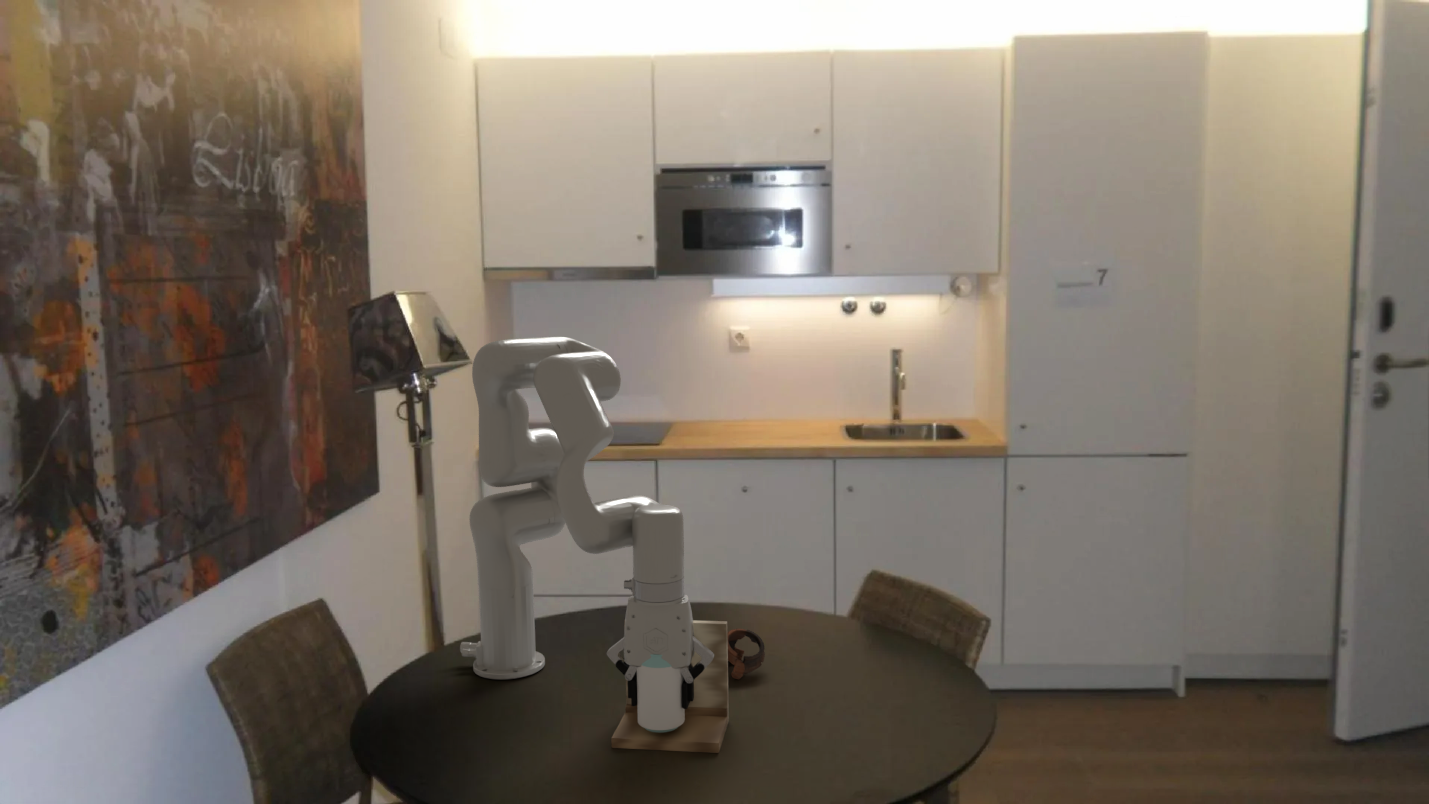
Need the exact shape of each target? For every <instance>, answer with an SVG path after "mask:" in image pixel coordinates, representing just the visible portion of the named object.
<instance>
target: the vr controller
mask: <svg viewBox="0 0 1429 804" xmlns="http://www.w3.org/2000/svg"><path fill="white" fill-rule="evenodd" d="M727 635H728V663H731V664H732V665H733V666H734V667H733V669H732V672H731V673H730V675H731V677H732V678H733V679H735V680H740V679H741V678H743V676H744V675H748V674H750V673H752V672H753V671H755V670H757V669H759V668H760V667H762V663H764V661H765V657H766V652H765V650H766V649H765V644H764V641H763V639H762V637H760V636H759V635H758V634H757V633H755V632H754V631H752V630H750V629H745V628H733V629H730V630H729V631H727ZM745 637H747V638H749V639H750V640H751V641H750V642H753V643H754V644H757V646H758V649H759V650H758V652H757V653H756V654H754V655H749V656H747V655H744V654H745V650H743V649H741V648H739V647H736V644H737V642H738V641H739V640H742V639H744V638H745Z"/></svg>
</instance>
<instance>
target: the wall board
mask: <svg viewBox="0 0 1429 804" xmlns="http://www.w3.org/2000/svg"><path fill="white" fill-rule="evenodd" d="M623 624H624V625H623V629H624V632H625V619H624V620H623ZM693 626H694V637H695V638H696V639H697V640H699V641H700V642H701V643H702V644H703V645H704V646H706V647H707V648H708V649H709V650H710V651H712V652H713V653H714V658H713V660H712V661H711V662H710V664H709V665H708V666H707V667H706V668H705V669H704V670H703V672H702V673H701V674H700V675H699V676H697V677H696V678H695V679H694V700H693V701H690V703H689V706H688V708H687V709H685V721H684V723H683V724H682V725H681V726H679V727H678V728H677V729H675V730H672V731H669V732H661V733H660V732H651V731H648V730H646V729H645V728H643V727H642V726H640V725H639V723H638V711H637V706H632V705H631V698H628V680H626V679H625V697H626V698H625V699H626V702H625V703H626V704H625V706H624V710H625V712H624V714H623V716H622V717H621V719H620V721H619V723H618V725H617V727H616V729H615V730H614V732H613V734H612V736H611V741H610V742H611V748H612V749H629V750H630V749H631V750H632V749H634V750H648V751H649V750H650V751H651V750H652V751H654V750H655V751H667V752H668V751H671V752H688V753H689V752H690V753H691V752H692V753H714V754H719V753H720V751H721V747H722V744H723V741H724V738H725V734H726V731H727V728H728V726H729V725H728V724H729V721H730V717H729V716H730V712H729V710H730V709H729V707H730V706H729V661H728V635H727V633H728V621H725V620H724V621H722V620H719V621H718V620H694V619H693ZM624 632H623V633H624ZM701 659H702V658H701V656H700V655H699V654H697V653H696V652H695V653H694V656H693V657H692V661H691V663H692V665H693V667H694V666H695V665H696V664H697V663H698V662H699V661H700V660H701Z"/></svg>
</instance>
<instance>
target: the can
mask: <svg viewBox="0 0 1429 804" xmlns="http://www.w3.org/2000/svg"><path fill="white" fill-rule="evenodd" d="M650 656H651V658H650V659H648V660H646V661H645V662H644V663H642V665H641V667H637V711H638V723H639V725H640V726H642V727H643V728H645V729H646V730H648V731H651V732H660V733H661V732H669V731H672V730H675V729H677V728H678V727H679V726H681V725H682V724H683V723H684V721H685V709H683V708H682V683H683V681H684V677H683V675H682V673H681V671H680V669H674V668H672V666H671V665H670V664H669V663H668V662H667V661H665V660H664V659H662V655H658V654H651V655H650Z"/></svg>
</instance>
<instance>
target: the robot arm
mask: <svg viewBox="0 0 1429 804" xmlns="http://www.w3.org/2000/svg"><path fill="white" fill-rule="evenodd" d="M471 373H472V375H471V376H472V383H473V389H474V392H475V396H476V401H477V405H478V467H479V473H480V477H481V479H482V481H483V483H484V484H486V485H488V486H490V487H493V488H507V487H514V486H518V485H526V484H530V485H531V486H530V487H528V488H523V489H519V490H518V489H516V490H509V491H504V492H500V493H499V492H498V493H494V494H490V495H487V496H485V497H482V498H481V499H479V500H478V501H477V502H476V503H475V504H474V505H473V506H472V507H471V510H470V512H469V526H470V532H471V537H472V540H473V543H474V544H473V545H474V549H475V555H476V557H475V558H476V566H477V582H478V583H477V584H478V599H479V601H478V602H479V604H478V605H479V621H480V640H479V641H477V642H471V641H469V642H468V641H461V643H460V646H459V651H460V653H461V656H462V657H463V658H464V657H467V658H469V657H472V658H474V659H475V660H474V661H473V665H472V670H473V672H474V673H475V674H476V675H477V676H479V677H482V678H484V679H490V680H513V679H520V678H524V677H528V676H531V675H534V674H536V673H537V672H539V671H540V670H542V669H543V668H544V667H545V665H546V658H545V655H543V653H541V652H539V651H536V629H535V627H536V625H535V606H534V605H535V602H534V598H535V597H534V595H535V594H534V573H533V568H532V564H531V562H530V561H529V559H528V558H527V557H526V556H525V554H524V553H523V551H522V549H521V547H520V546H522V545H525V544H528V543H532V542H537V541H541V540H545V539H550V538H553V537H555V536H557V535H559V534H560V533H561V532H562V531H563V529H564V528H565V525H566V527H567V529H568V532H569V533H570V534H569V535H570V537H572V539H573V541H574V543H575V544H576V545H577V546H578V547H579V549H581V550H582V551H583V552H585V553H587V554H593V555H599V554H603V553H608V552H612V551H616V550H621V549H624V548H630V547H632V578H630V579H627V580H626V579H625V580H624V581H623V589H624V590H629V591H631V593H632V595H631V596H630V597H629V598H628V599H627V604H626V612H625V619H624V620H625V632H623V633H624V634H623V637H622V638H621V639H619V640H618V641H617V642H616V643H614V644H613V645H612V646H611V647H609V649H608V650H607V652H606V656H607V657H608V658H609V660H610V661H611V662H612V663H613V664H614V665H615V668H616V669H617V670H618V671H619V672H621V674H622V675H623V676H624V678H625V681H626V680H628V698H631V705H632V706H637V667H641V665H642V663H644V662H645V661H646V660H648V659H650V658H651V656H650V655H651V654H658V655H662V659H664V660H665V661H667V662H668V663H669V664H670V665H671V666H672V668H674V669H680V671H681V673H682V675H683V677H684V681H683V683H682V708H683V709H687V708H688V706H689V703H690V701H693V700H694V679H695V678H696V677H697V676H699V675H700V674H701V673H702V672H703V670H704V669H705V668H706V667H707V666H708V665H709V664H710V662H711V661H712V660H713V658H714V653H713V652H712V651H710V650H709V649H708V648H707V647H706V646H704V645H703V644H702V643H701V642H700V641H699V640H697V639H696V638H695V637H694V626H693V620H694V618H693V612H692V606H691V602H690V599H689V596H688V595H687V594H685V553H684V551H685V550H684V549H685V544H684V543H685V542H684V541H685V540H684V539H685V538H684V516H683V513H682V511H681V509H680V508H679V507H677V506H675V505H671V504H664V503H663V504H662V503H660V502H658V501H656V500H654V499H652V498H651V497H649V496H647V495H640V494H637V495H636V494H634V495H628V496H623V497H618V498H612V499H608V500H607V499H606V500H601V501H597V502H594V501H593V498H592V497H591V496H592V495H591V494H590V492H589V489H588V488H587V484H586V481H585V480H586V479H585V475H584V473H585V472H584V471H585V465H586V463H587V462H588V461H589V460H591V459H592V458H594V457H596V456H597V455H598V454H600V453H601V452H602V451H603V450H605V449H606V448H607V447H608V446H609V445H610V443H611V442H612V440H613V439H614V435H615V433H614V432H615V430H614V428H613V426H612V424H611V421H610V419H609V417H608V415H607V413H606V411H605V409H604V407H603V405H602V402H606V401H610V400H612V399H614V398H615V396H616V395H617V394H618V393H619V391H620V388H621V382H622V380H621V372H620V370H619V367H618V365H617V363H616V362H615V359H613V358H612V357H611V356H610V355H609V354H608V353H607V352H605V351H603V350H601V349H600V348H597V347H594V346H592V345H589V344H586V343H584V342H581V341H579V340H577V339H574V338H572V337H567V336H545V337H544V336H542V337H541V336H540V337H519V338H517V337H516V338H508V339H507V338H506V339H499V340H495V341H492V342H488V343H486V344H485V345H483V346H482V347H480V348H479V350H478V351H477V352H476V354H475V357H474V358H473V361H472V369H471ZM532 388H533V389H535V390H536V392H537V394H538V398H539V399H540V401H541V404H542V406H543V409H544V411H545V413H546V415H547V418H548V419H549V421H550V424H551V426H552V428H553V429H552V428H550V427H534V428H530V427H529V423H530V422H529V419H530V418H529V416H530V415H529V414H530V413H529V411H530V410H529V406H528V403H527V401H526V399H525V398H524V396H523V394H522V392H521V391H520V389H521V390H523V389H532ZM621 651H623V656H622V655H621V653H620V652H621ZM695 652H696V653H697V654H699V655H700V656H701V658H702V659H701V660H700V661H699V662H698V663H697V664H696V665H695V666H694V667H693V665H692V663H691V661H692V657H693V656H694V653H695Z"/></svg>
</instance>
